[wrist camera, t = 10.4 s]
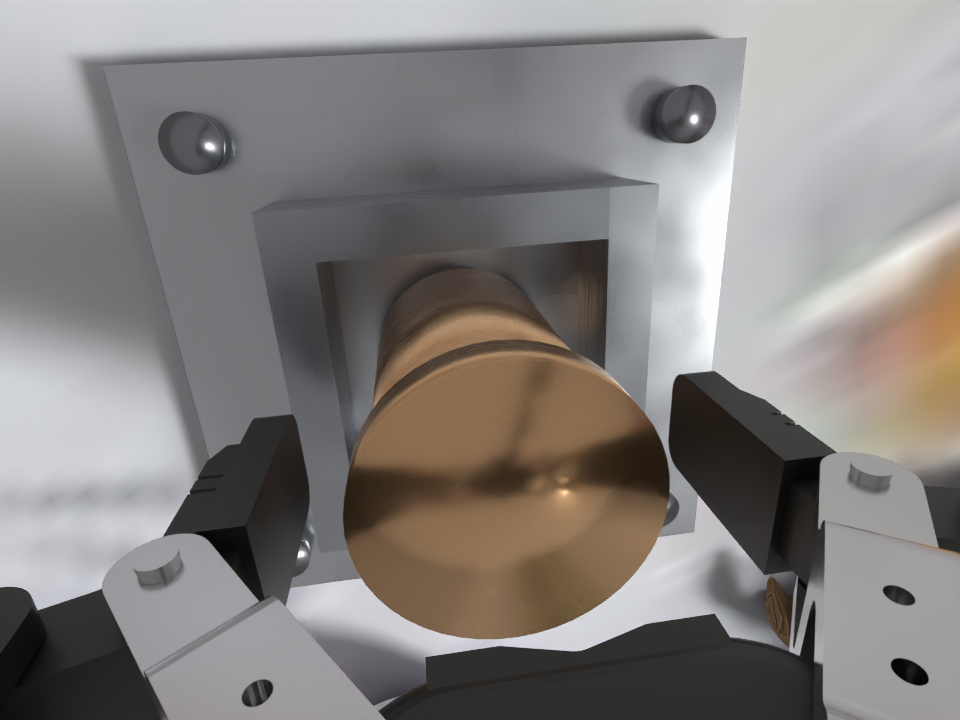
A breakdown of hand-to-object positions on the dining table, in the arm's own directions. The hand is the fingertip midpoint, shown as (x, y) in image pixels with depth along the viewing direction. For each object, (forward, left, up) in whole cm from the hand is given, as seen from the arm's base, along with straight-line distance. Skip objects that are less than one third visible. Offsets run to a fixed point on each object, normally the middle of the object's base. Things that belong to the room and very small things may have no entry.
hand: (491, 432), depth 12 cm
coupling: (0, 0, -6) cm, 6 cm away
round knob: (0, 0, -5) cm, 5 cm away
